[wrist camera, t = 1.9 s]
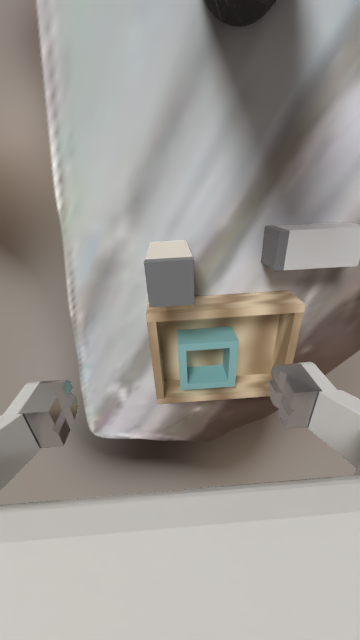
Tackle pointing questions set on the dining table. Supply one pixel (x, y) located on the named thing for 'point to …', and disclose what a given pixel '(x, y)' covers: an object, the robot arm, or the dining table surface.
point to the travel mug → (239, 10)
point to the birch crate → (253, 349)
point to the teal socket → (203, 341)
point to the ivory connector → (169, 274)
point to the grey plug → (311, 246)
